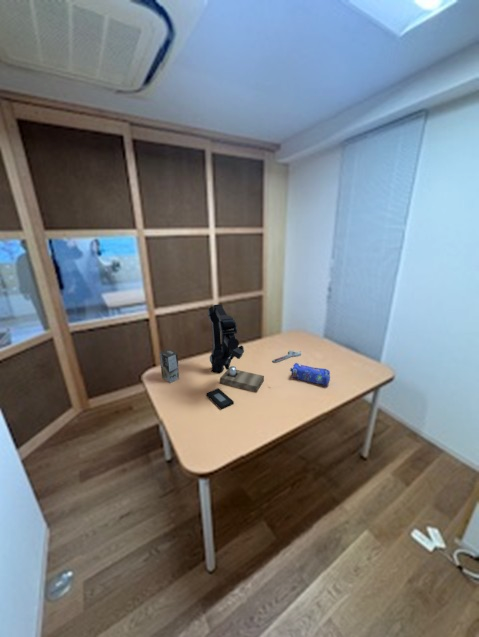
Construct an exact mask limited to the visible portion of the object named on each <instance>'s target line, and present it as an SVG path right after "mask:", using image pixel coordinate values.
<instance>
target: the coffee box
mask: <svg viewBox="0 0 479 637" xmlns="http://www.w3.org/2000/svg"><path fill="white" fill-rule="evenodd" d="M178 356H179V355H178V353H177V352H175V351H172V350H171V349H166V350H164V351H160V352H159V361H160V370H161V378H162V379H164V380H165V381H167V382H168V383H170V384H171V383H173V382H175V381H178V380H180V377H179V376H180V373H179V372H180V371H179V359H178Z"/></svg>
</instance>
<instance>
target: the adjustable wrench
mask: <svg viewBox="0 0 479 637" xmlns="http://www.w3.org/2000/svg"><path fill="white" fill-rule="evenodd" d="M301 356H302V351H301V350H300V351H299V352H297V351H295V350H288V354H286V355H284V356H283V355H282V356H280V357H277V358H275V359H272V363H279V362H282V361H284V360H285V361H286V360H287V359H290V358H293V357H301Z"/></svg>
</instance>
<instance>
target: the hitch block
mask: <svg viewBox="0 0 479 637" xmlns="http://www.w3.org/2000/svg"><path fill="white" fill-rule="evenodd" d="M219 381H220V382H219V384H222V385H225V386H230V387H233V388H239V389H243V390H245V391H249V392H250V391H251V392H254V393H258V392H259V389H261V386H262V385H263V384H264V381H265V375H262V374H257V373H253V372H249V371H243V370H240V369H236V377H235V378H234V377H230V367H229V369H228V370H225V372H224V373H223V374H222V375H221V376H220V378H219Z"/></svg>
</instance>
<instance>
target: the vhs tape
mask: <svg viewBox="0 0 479 637" xmlns="http://www.w3.org/2000/svg"><path fill="white" fill-rule="evenodd" d="M205 394H206V397H207V398H208V399H209V400H210V401H211V402H213V404H214V405H216V406H217V407H218V408H219V409H220V410H221V411H222V410H224V409H226V408H229V407H230V406H232V405H234V403H235V402H234V400H233V399H232V398H231V397H229V395H227V394H226V393H225V392H223V390H222V389H220V388H216V389H214V390H210V391H207V392H206V393H205Z"/></svg>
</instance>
